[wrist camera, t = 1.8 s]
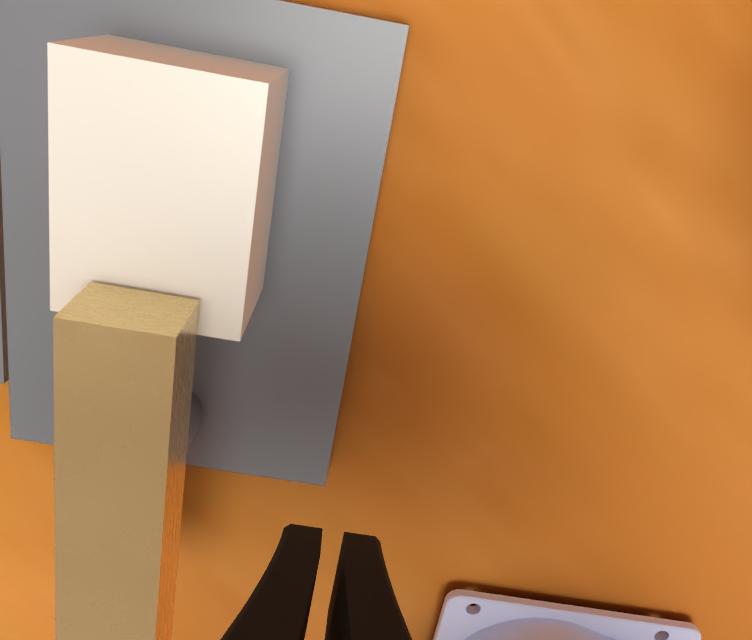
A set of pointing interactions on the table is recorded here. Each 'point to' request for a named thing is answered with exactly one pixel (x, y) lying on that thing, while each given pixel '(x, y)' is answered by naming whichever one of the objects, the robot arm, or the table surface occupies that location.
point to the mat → (2, 304)
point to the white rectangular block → (162, 173)
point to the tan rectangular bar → (120, 459)
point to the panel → (287, 231)
